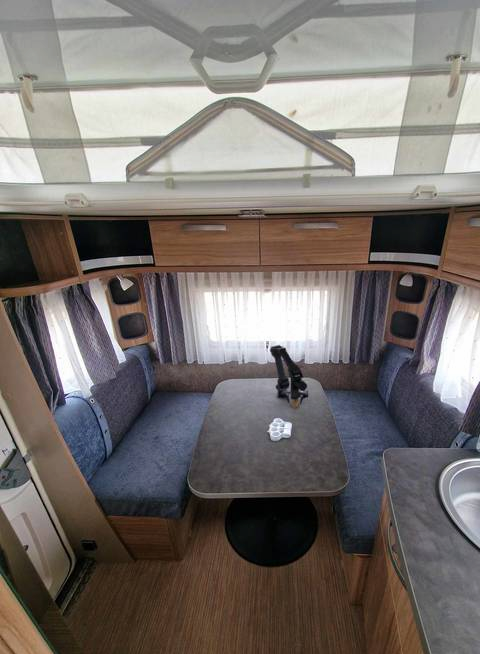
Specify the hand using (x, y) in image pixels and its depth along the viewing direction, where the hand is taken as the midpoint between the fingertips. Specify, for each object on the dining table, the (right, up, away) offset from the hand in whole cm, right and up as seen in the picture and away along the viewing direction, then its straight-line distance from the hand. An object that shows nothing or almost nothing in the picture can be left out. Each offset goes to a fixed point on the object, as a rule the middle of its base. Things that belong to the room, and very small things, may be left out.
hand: (294, 403), depth 200 cm
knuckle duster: (-12, -14, -24) cm, 30 cm away
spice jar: (0, -2, +1) cm, 2 cm away
